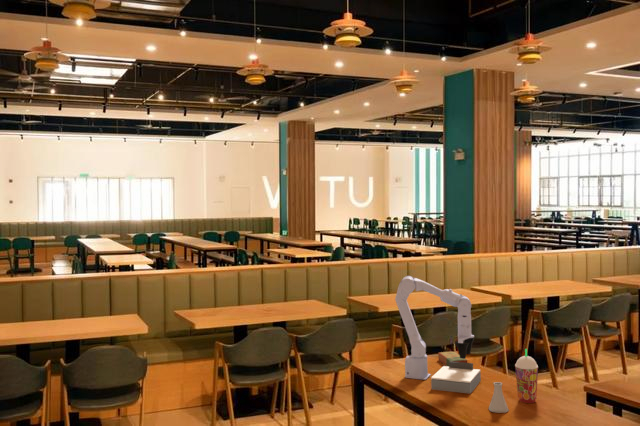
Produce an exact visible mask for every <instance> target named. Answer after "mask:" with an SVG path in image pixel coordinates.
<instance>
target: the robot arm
mask: <svg viewBox="0 0 640 426" xmlns="http://www.w3.org/2000/svg"><path fill="white" fill-rule="evenodd" d="M414 291H415V292H420V291H423V292H426V293H428V294H431V295H434V296H436V297H439V298H440V301H441V302H443V303H444V304H447V305H450V306H452V307H454V308H457V311H458V312H457V340H456V341H455V343H454V345H455V346H456V348H457V350H458V354H459V355H460V358H463V359H467V358H466V357H467V355H470V354H471V351H472V346H473V343H474V340H475V335H474V334H473V333H472V314H471V313H472V311H471V308H472V307H473V305H472V303H471V300H470V299H469V297H467V295H463V294H462V293H460V294H459V293H457V292H454V291H453V289H452V288H449V289H448V288H445V289H441V288H439V287H436V286H435V285H432V284H431V283H428V282H427V281H425V280H422V279H420V278H417V277H414V276H411V275H405V276H404V277H403V278H402V279H401V280H400V282H399V284H398V287H397V291H396V295H395V298H394V301H395V303H396V305H397V308H398V312H399V314H400V317H401V319H402V322H403V325H404V327H405V331H406V333H407V336H408V339H409V343H410V347H411V350H410V352H411V354H410V355H406V357H405V360H404V371H405V372H404V375H405V376H404V379H405V378H406V379H414V380H415V379H416V380H424V381H425V380H427V379H428V378H430V377H431V375H432V374H431V373H429V371H428V355H427V353H426V352H427V344H426V342H425V341H424V340H423V339H422V336H421V335H420V332H419V329H418V327H417V325H416V321H415V320H414V319H415V318H414V316H413V314H412V310H411V308H410V305H409V303H408V298H409V296H410V295H411V293H413V292H414Z"/></svg>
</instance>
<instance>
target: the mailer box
mask: <svg viewBox="0 0 640 426" xmlns="http://www.w3.org/2000/svg"><path fill="white" fill-rule="evenodd" d="M481 374H482V373H481V371H480V372H479V373H478V374H477V376H476V377H475V378H474V379H473V380H472V381H471V383H465V382H456V381H446V380H436V379H431V378H430V379H431V380H430V381H431V382H430V385H431V386H430V387H431V390H434V391H442V392H444V391H445V392H452V393H461V394H463V393H464V394H468V395H469V394H470V395H471V394H472V392H473V391H474V390H475V389H476V388H477V386H478V385H479V384H480V383H481V382H482V378H481ZM479 382H480V383H479Z"/></svg>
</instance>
